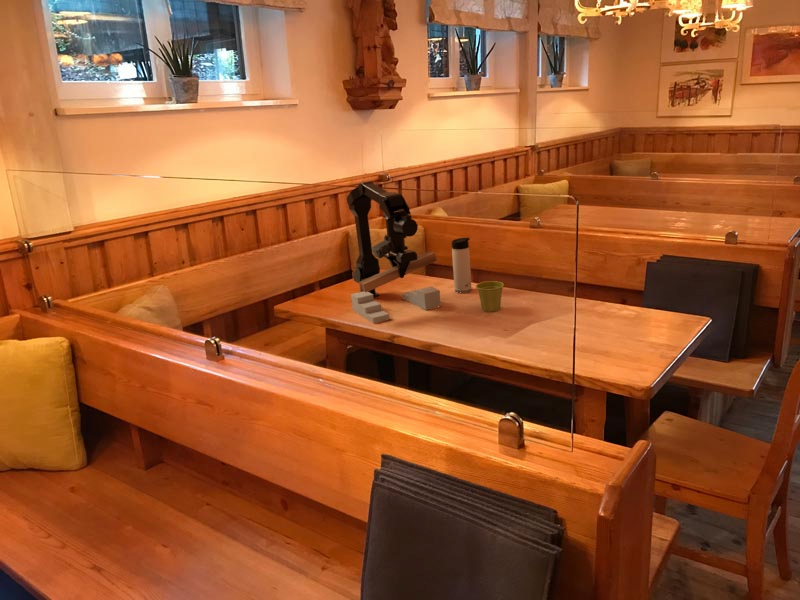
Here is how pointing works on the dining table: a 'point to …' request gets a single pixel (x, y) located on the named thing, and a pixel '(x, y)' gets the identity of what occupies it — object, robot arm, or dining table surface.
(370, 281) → the walnut bar
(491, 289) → the plant pot
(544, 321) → the dining table surface
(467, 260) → the travel mug
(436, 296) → the notch rack
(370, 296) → the notch rack
